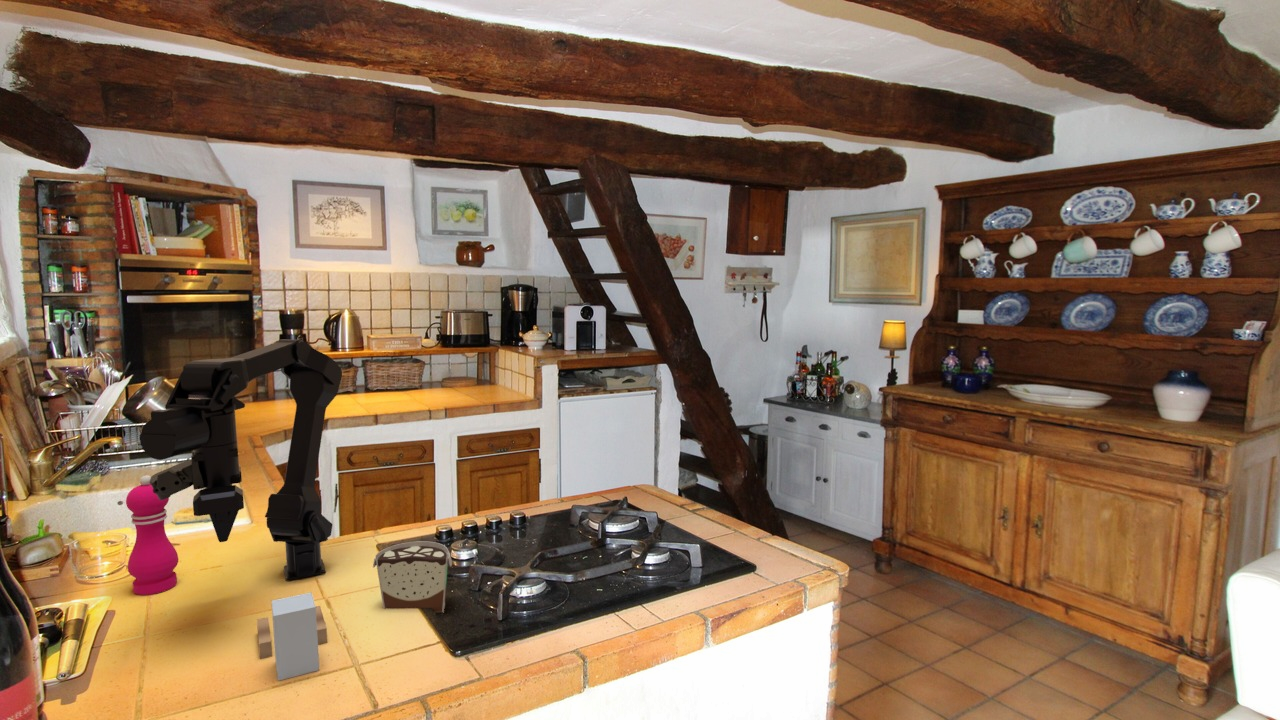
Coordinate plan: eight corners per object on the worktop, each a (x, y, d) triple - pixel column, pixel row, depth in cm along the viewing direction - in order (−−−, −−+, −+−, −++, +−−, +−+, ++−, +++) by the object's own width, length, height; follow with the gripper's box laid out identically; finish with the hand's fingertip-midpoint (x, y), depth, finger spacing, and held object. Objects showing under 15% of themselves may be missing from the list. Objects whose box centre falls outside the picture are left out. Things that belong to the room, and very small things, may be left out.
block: (275, 662, 96) (271, 600, 95) (315, 652, 99) (311, 592, 98) (278, 680, 92) (273, 616, 91) (319, 670, 95) (315, 606, 94)
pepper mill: (125, 587, 122) (114, 475, 119) (173, 574, 127) (164, 467, 124) (135, 600, 117) (124, 484, 114) (185, 586, 122) (176, 475, 119)
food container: (461, 596, 118) (459, 539, 117) (452, 613, 112) (450, 554, 111) (387, 597, 118) (384, 540, 117) (375, 615, 112) (372, 555, 111)
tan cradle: (258, 639, 104) (256, 619, 104) (321, 625, 109) (320, 605, 108) (262, 691, 92) (261, 668, 91) (334, 672, 96) (332, 650, 95)
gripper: (156, 436, 111) (165, 531, 112) (145, 464, 95) (155, 574, 97) (237, 428, 116) (244, 519, 118) (240, 453, 100) (247, 558, 102)
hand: (223, 541), depth 109 cm, fingers closed
